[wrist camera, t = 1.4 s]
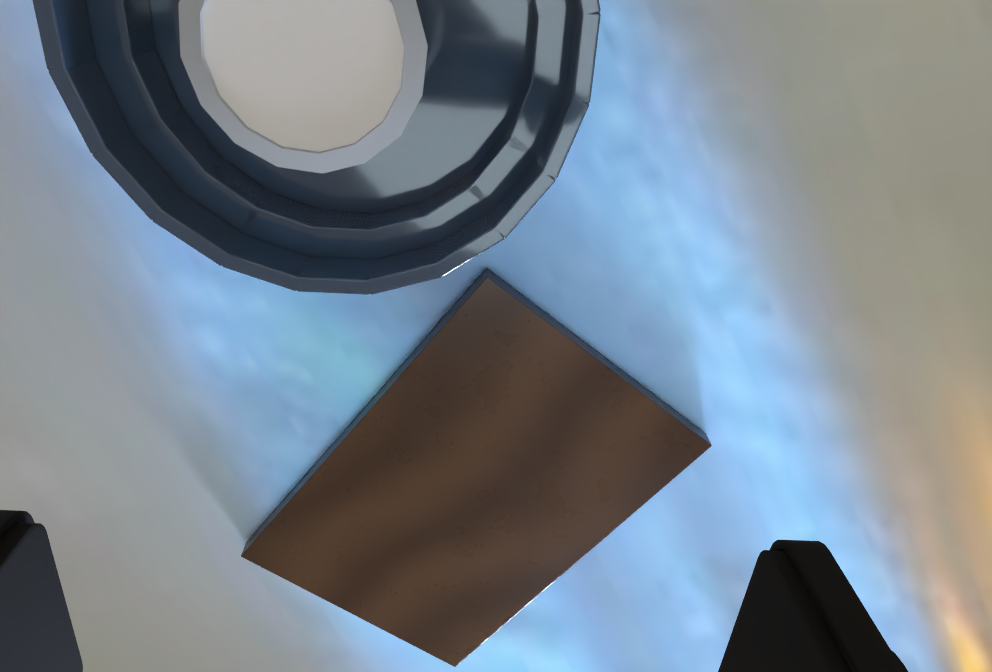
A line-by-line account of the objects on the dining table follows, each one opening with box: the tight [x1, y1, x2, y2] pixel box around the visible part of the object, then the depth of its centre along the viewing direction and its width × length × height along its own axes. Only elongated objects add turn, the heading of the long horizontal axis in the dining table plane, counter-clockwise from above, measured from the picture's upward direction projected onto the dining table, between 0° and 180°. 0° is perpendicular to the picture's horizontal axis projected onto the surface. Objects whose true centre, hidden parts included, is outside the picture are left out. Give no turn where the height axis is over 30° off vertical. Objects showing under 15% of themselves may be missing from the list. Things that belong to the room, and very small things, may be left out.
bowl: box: [33, 0, 600, 295], centre depth 24 cm, size 17×17×4 cm
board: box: [241, 269, 712, 667], centre depth 36 cm, size 14×20×1 cm
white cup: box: [178, 0, 428, 174], centre depth 23 cm, size 7×7×7 cm
